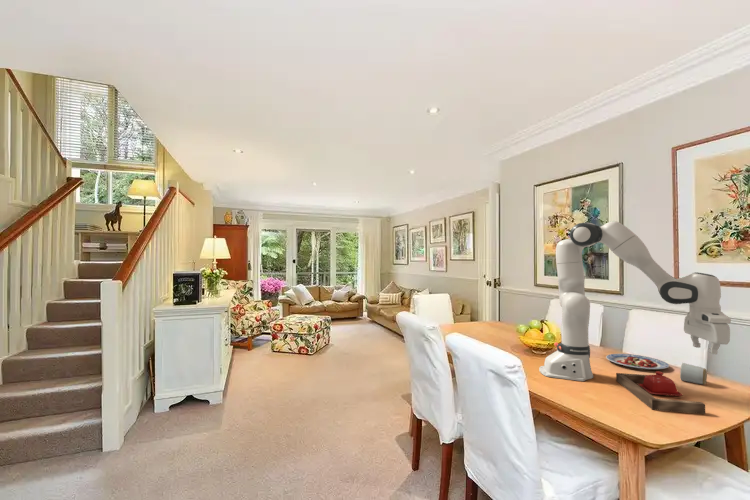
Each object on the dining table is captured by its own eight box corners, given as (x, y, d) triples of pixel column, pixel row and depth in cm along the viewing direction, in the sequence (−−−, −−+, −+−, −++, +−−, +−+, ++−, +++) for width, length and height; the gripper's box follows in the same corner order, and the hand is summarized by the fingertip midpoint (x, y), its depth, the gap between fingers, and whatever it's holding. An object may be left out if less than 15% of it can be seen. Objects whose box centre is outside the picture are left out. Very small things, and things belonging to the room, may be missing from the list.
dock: (652, 409, 125) (652, 399, 125) (616, 380, 154) (616, 372, 154) (705, 414, 121) (705, 404, 121) (658, 383, 150) (658, 375, 150)
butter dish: (636, 386, 148) (636, 366, 149) (668, 388, 145) (668, 368, 145) (650, 396, 137) (649, 374, 137) (685, 399, 134) (684, 377, 134)
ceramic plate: (620, 355, 195) (620, 349, 195) (678, 367, 173) (678, 361, 173) (596, 362, 182) (596, 356, 182) (655, 376, 159) (655, 370, 159)
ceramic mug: (705, 387, 146) (705, 368, 146) (679, 381, 152) (679, 364, 152) (708, 381, 153) (707, 364, 153) (683, 376, 159) (683, 360, 159)
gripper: (678, 310, 145) (678, 343, 145) (713, 318, 125) (713, 357, 125) (696, 310, 143) (696, 344, 143) (734, 319, 123) (734, 358, 123)
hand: (704, 350), depth 134 cm, fingers open, 8 cm apart
